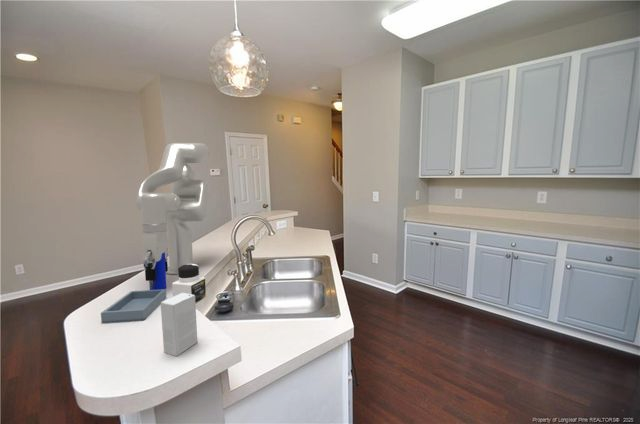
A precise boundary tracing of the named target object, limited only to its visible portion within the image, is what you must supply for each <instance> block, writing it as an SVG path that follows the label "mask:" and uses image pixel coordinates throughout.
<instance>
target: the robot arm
mask: <svg viewBox="0 0 640 424" xmlns="http://www.w3.org/2000/svg"><path fill="white" fill-rule="evenodd" d="M209 151H210V149H209V148H208V146H207V145H206V143H201V142H171V143H169V144H167V145H166V146H165V148H164V150H163V154H162V158H161V161H160V165H159V168H158V170H156V171H154V172H153V173H151V174H150V175H148V176H147V177H146V178H145V179H144V180H143V181H142V183H141V184H140V186H139V189H138V190H137V194H136V195H137V196H136V200H135V203H136V207H137V210H139V212H140V213H141V230H142V232H141V233H142V239H141V262H142V263H143V268H144V269H143V270H144V276H145V281H146V282H149V281H154V280H156V269H154V268H155V265H156V262H158V261H160V260H161V257H162V252H163V251H165V267H166V275H167V274H168V275H178V268H179V267H181V266H182V265H186V264H194V260H193V259H194V256H193V232H192V229H191V227H190V226H189V225H188V224H187V222H188V223H189V222H204V221H205V220H206V219H207V218H208V214H209V205H210V197H211V196H210V195H211V190H210V184H209V182H208V181H207V180H205V179H195V177H196V172H195V170H194V169H193V167H192V166H190V165H189V164H201V163H205V162H207V161H208V159H209V156H210V152H209ZM171 184H172V186H171V192H155V191H156V190H158V189H159V188H162V187H164V186H166V185H171ZM151 263H153V264H152V265H151Z"/></svg>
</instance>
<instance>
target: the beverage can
mask: <svg viewBox="0 0 640 424" xmlns="http://www.w3.org/2000/svg"><path fill="white" fill-rule="evenodd" d="M152 264H153V263H151V265H152ZM154 269H156V280H154V281H148V282H149V290H161V289H166V290H167V273H166V267H165V251H163V252H162V257H161V260H160V261H158V262H156V265H155V268H154Z"/></svg>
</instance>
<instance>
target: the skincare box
mask: <svg viewBox="0 0 640 424" xmlns="http://www.w3.org/2000/svg"><path fill="white" fill-rule="evenodd" d="M196 305H197V304H195V295H192V294H187V293H180V294H178V295H176V296H174V297H173V296H172V297H169V298H168V299H167V298H166V299H165V300H164V301H162V302H161V304H160V313H161V329H162V341H163V342H162V343H163V352H164V354H169V355H172V356H175V357H177V356H180V355H181V354H182V353H184V352H185V351H186V350H187V351H188V349H189V348H190V347H192V346H194V345H195V344H197V343H198V326H197V307H196Z"/></svg>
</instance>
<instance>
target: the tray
mask: <svg viewBox="0 0 640 424" xmlns="http://www.w3.org/2000/svg"><path fill="white" fill-rule="evenodd" d="M165 300H167V288H166V289H161V290H150V289H146V290H145V289H144V290H131V291H129V292H128V293H127V294H125V295H123V296H122V297H120V299H118V300H116V301H115V302H114V303H113V304H110V306H109V307H107V308H105V309H104V310H103V311H102V312H100V318H101V320H100V321H101V324H110V323H111V324H112V323H125V322H139V321H142V322H143V321H145V320H146V319H148V317H149V316H150V315H151V314H152V313H153V312H154V311H155V310H156V309H157V308H158V307H159V306H161V302H162V301H165Z"/></svg>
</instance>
